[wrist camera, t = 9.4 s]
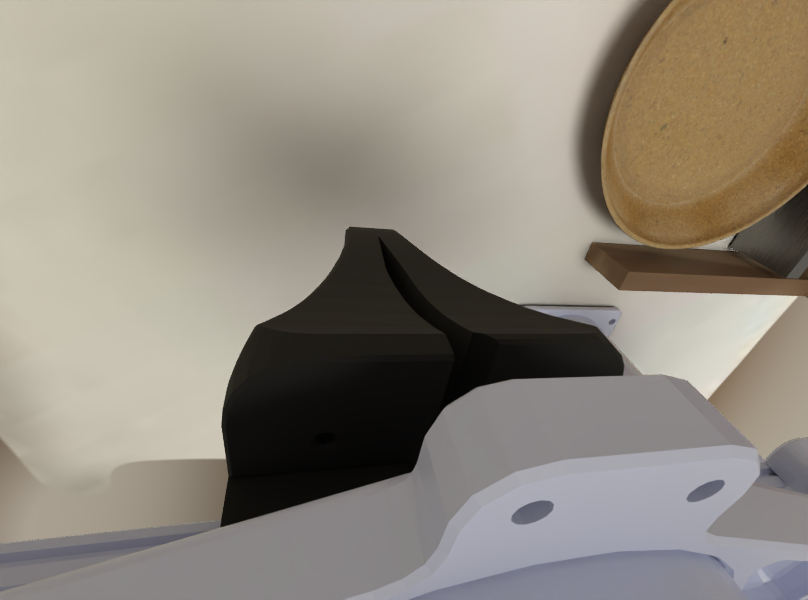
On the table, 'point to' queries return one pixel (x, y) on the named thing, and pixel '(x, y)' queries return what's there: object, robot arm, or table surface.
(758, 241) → the pusher plate
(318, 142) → the table surface
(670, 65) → the plant saucer
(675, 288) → the brown wooden open box
